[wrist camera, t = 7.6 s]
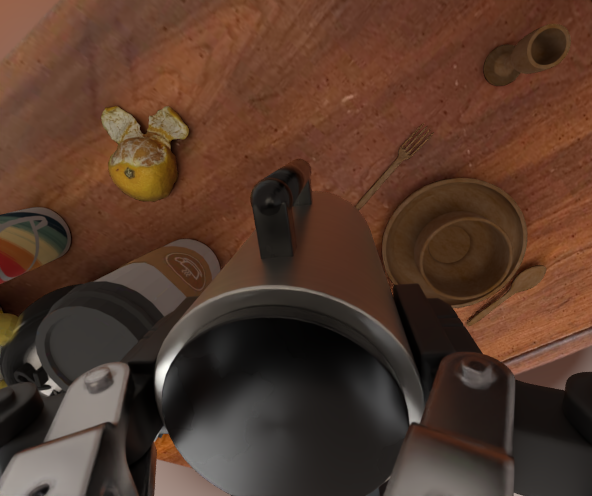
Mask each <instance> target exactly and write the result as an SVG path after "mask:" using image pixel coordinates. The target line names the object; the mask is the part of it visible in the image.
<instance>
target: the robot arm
mask: <svg viewBox="0 0 592 496" xmlns="http://www.w3.org/2000/svg"><path fill="white" fill-rule="evenodd" d="M198 297H199V296H191V297H186V298H185V299H184V300H183V301H182V303H181V304H180V305H179V306H178V307H177V308H176V309H175V310H174V311H173V312H171V313H169V314H168V315H166V316H165V317H163V318H161V319H160V320H159V321H158V322H157V323H156V324H155V325H154V326H153V327H152V328H151V330H150V331H148V332H147V333H146V334H145V335H144V336H143V339H141V340H140V341H139V342H138V343H137V344H136V345H135V346H134V347H133V348H132V349H131V350H130V351H129V352H128V353H127V354H126V355H125V356H124V357H123V358H122V360H121V361H120V362H111V363H107V364H103V365H100V366H97V367H95V368H93V369H91V370H89V371H87V372H85V373H84V374H82V375H81V376H79V377H78V378H77V379H76V380H75V381H73V382H72V384H71V385H70V386H69V388H68V389H67V392H65V393H61V394H57V395H53V396H49V397H44V398H41V396H40V393H39V391H38V389H37V387H36V385H35V384H34V383H31V382H22V383H17V384H13V385H10V386H7V387H4V388H2V389H0V496H154V489H155V474H156V473H155V472H156V458H157V449H156V446H155V443H154V440H155V438H156V436H157V435H158V434H169V433H168V432H167V430H166V428H165V426H164V424H163V422H162V420H161V417H160V415H159V412H158V409H157V405H156V401H155V395H154V384H153V383H154V369H155V365H156V361H157V356H158V353H159V351H160V349H161V346H162V344H163V342H164V340H165V338H166V337H167V335H168V334H169V332H170V331H171V329H172V328H173V327H174V325H175V324H176V323H177V322H178V321H179V320H180V318H181V317H182V316H183V315H184V314H185V312H186V311H187V310H188V309H189V308H190V307H191V305H192V304H193V303H194V302H195V301H196V299H197V298H198ZM393 298H394V301H395V304H396V307H397V310H398V313H399V316H400V319H401V322H402V325H403V328H404V331H405V333H406V336H407V339H408V342H409V345H410V348H411V351H412V354H413V357H414V360H415V363H416V366H417V368H418V371H419V374H420V377H421V381H422V385H423V389H424V394H425V409H424V412H423V415H422V418H421V421H420V423H417V422H412V423H411V424H410V426H409V428H408V430H407V433H406V436H405V438H404V441H403V444H402V446H401V449H400V452H399V455H398V457H397V460H396V463H395V465H394V468H393V471H392V474H391V476H390V479H389V482H388V484H387V487H386V490H385V493H384V495H383V496H513V494H514V493H517V494H520V495H523V496H592V372H582V373H577V374H574V375H572V376H571V377H569V378H568V380H567V382H566V387H565V391H564V390H559V389H554V388H548V387H543V386H538V385H533V384H528V383H524V382H521V381H518V380H515V377H514V375H513V373H512V372H511V370H510V369H509V368H508V367H507V366H506V365H504V364H503V363H502V362H500V361H498V360H497V359H494V358H492V357H490V356H487V355H484V354H483V353H482V352H481V350H480V349H479V347H478V346H477V344H476V343H475V341H474V340H473V338H472V337H471V335H470V334H469V332H468V331H467V329H466V328H465V326H463V323H462V322H461V320H460V319H459V318H458V316H457V314H456V313H455V311H454V310H453V308H452V306H451V305H449V304H447V303H446V302H444V301H443V300H441V299H439V298H426V296H425V294H424V292H423V290H422V289H421V287H420V285H419V284H418V283H414V284H398V285H394V287H393Z"/></svg>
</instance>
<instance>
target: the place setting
mask: <svg viewBox="0 0 592 496" xmlns="http://www.w3.org/2000/svg"><path fill="white" fill-rule="evenodd" d="M570 44H571V38H570V34H569V32H568V30H567V29H566V28H565V27H564V26H562V25H559V24H549V25H546V26H543V27H541V28H539V29H537V30H535V31H533V32H532V33H530V34H528V35H527V36H525V37H524V38H523V39H521V40H520V41H519V42H518V43H517V45H516V46H513V45H502V46H499V47H497V48H496V49H494V50H493V51H492V52H491V53H490V54H489V55H488V57H487V59H486V61H485V63H484V76H485V78H486V79H487V81H488V82H489V83H491V84H492V85H496V86H503V85H507V84H509V83H511V82H512V81H514V80H515V79H516V78H517V77H518V76H519V74H520V73H524V74H530V73H536V72H540V71H543V70H546V69H549V68H552V67H554V66H556V65H557V64H559V63H560V62H561V61H562V60H563V59H564V58H565V56H566V55H567V53H568V51H569V48H570ZM423 124H424V123H423ZM423 124H422V125H421V126H420V127H419V128H418V129H417V130H416V131H415V132H414V133H413V134H412V135H411V136H410V137H409V138H408V139H407V140H406V141H405V142H404V144H403V145H402V146H401V147H400V149H399V153H398V158H397V159H396V161H395V162H394V163H393V164H392V165H391V166H390V167H389V169H388V170H387V171H386V172H385V173H384V174H383V175H382V176H381V178H380V179H379V180H378V181H377V182H376V183H375V184H374V185H373V187H372V188H371V189H370V190H369V191H368V192H367V193H366V195H365V196H364V197H363V198H362V199H361V200H360V201H359V203H358V204H357V205H356V206H355V207H356V208H357V209H358V210H360V209H361V207H362V206H363V205H364V204H365V203H366V202H367V201H368V200H369V199H370V198H371V196H372V195H373V194H374V193H375V192H376V191H377V190H378V188H379V187H380V186H381V185H382V184H383V183H384V182H385V180H386V179H387V178H388V177H389V176H390V175H391V173H392V172H393V171H394V170H395V169H396V168H397V167H398V165H399V164H400V163H401V162H402V161H403V160H406V159H409V158H411V157H412V156H413V155H414V154H415V153H416V152H417V151H418V150H419V149H420V148H421V147H422V146H423V145H424V144H425V142H426V141H427V140H428V139H429V138H430V137H431V136H432V135H433V133H434V132H433V133H432V134H431V135H430V136H429V137H428V138H427V139H426V140H425V141H424V142H423V143H422V144H421V145H420V146H419V147H418V148H417V149H416V150H415V151H414V152H413V153H412V154H411V155H409V153H410V152H411V151H412V150H413V149H414V148H415V147H416V145H417V144H418V143H419V142H420V141H421V140H422V139H423V138H424V137H425V136H426V135H427V134H428V132H429V131H430V130H431V129H430V130H429V131H427V132H426V133H425V134H424V135H423V136H422V137H421V138H420V139H419V140H418V142H417V143H416V144H415V145H414V146H413V147H412V148H411V149H410V150H409V151H408V152H406V150H407V149H408V148H409V146H410V145H411V144H412V143H413V142H414V141H415V140H416V139H417V138H418V137H419V136H420V135H421V134H422V133H423V131H424V130H425V129H426V128H427V126H426V127H425V128H424V129H423V130H422V131H421V132H420V133H419V134H418V135H417V136H416V137H415V138H414V139H413V140H412V141H411V142H410V144H409V145H408V146H407V147H406V148H405V149H403V147H404V146H405V144H406V143H407V142H408V141H409V140H410V139H411V138H412V137H413V136H414V135H415V134H416V132H417V131H418V130H419V129H420V128H421V127H422V126H423ZM526 246H527V227H526V222H525V219H524V216H523V214H522V212H521V210H520V208H519V206H518V205H517V204H516V202H515V201H514V200H513V199H512V198H511V197H510V196H509V195H508V194H507V193H506V192H504V191H503V190H502V189H500V188H498V187H497V186H495V185H493V184H490V183H487V182H485V181H481V180H477V179H471V178H450V179H445V180H440V181H437V182H433V183H431V184H428V185H426V186H424V187H422V188H420V189H419V190H417V191H415V192H414V193H412V194H411V195H410V196H408V197H407V198H406V199H405V200H404V201H403V202H402V203H401V204H400V205H399V206H398V207H397V209H396V210H395V211H394V213H393V214H392V216H391V217H390V219H389V221H388V224H387V226H386V228H385V232H384V235H383V241H382V256H383V262H384V266H385V269H386V272H387V274H388V276H389V278H390V279H391V281H392V283H393V284H394V285H398V284H414V283H418V284H419V285H420V287H421V289H422V290H423V292H424V294H425V296H426V298H439V299H441V300H443V301H444V302H446V303H447V304H449V305H451V306H452V308H461V307H465V306H470V305H473V304H476V303H478V302H481V301H483V300H485V299H487V298H489V297H490V296H492V295H494V294H495V293H496V292H498V291H499V290H500V289H502V288H503V287H504V286H505V285H506V284H507V283H508V282H509V281H510V279H511V278H512V277H513V276H514V275H515V273H516V271H517V270H518V268H519V267H520V264H521V262H522V260H523V258H524V254H525V251H526ZM545 273H546V267H545V266H543V265H537V266H533V267H530V268H528V269H526V270H524V271H522V272H521V273H520V274H519V275H518V276H517V277H516V278H515V279H514V281H513V283H512V286H511V288H510V290H509V291H508V292H507V293H506V294H504V295H503V296H502V297H501V298H499V299H498V300H497V301H495V302H494V303H492V304H491V305H490V306H488V307H487V308H485V309H484V310H483V311H481V312H480V313H479V314H477V315H476V316H475V317H474V318H472V319H471V320H470V321H469V322H468V324H467V326H471V325H473V324H475V323H476V322H478V321H479V320H481V319H482V318H483V317H485V316H486V315H487V314H489V313H490V312H491V311H492V310H494V309H495V308H496V307H497V306H499V305H500V304H501V303H503V302H504V301H505V300H506V299H508V298H509V297H511V296H512V295H514V294H515V293H518V292H521V291H525V290H528V289H531V288H533V287H534V286H536V285H537V284H538V283H539V282H540V281H541V280H542V279H543V277H544V275H545Z"/></svg>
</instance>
